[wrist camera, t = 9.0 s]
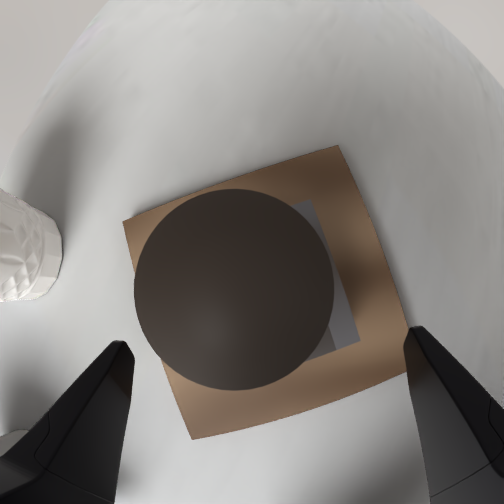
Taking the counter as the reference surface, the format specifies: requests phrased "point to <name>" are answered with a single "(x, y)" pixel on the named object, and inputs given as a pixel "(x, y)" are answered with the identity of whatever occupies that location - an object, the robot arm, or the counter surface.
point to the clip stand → (344, 306)
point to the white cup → (26, 250)
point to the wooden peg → (234, 289)
